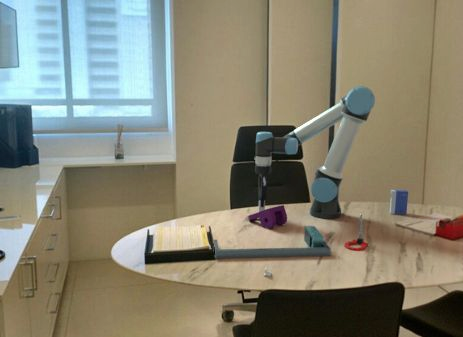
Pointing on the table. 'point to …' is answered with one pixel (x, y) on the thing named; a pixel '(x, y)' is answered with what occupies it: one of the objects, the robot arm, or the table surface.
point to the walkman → (398, 201)
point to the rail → (310, 237)
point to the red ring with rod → (359, 240)
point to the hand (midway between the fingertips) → (261, 212)
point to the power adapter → (267, 272)
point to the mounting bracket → (271, 217)
